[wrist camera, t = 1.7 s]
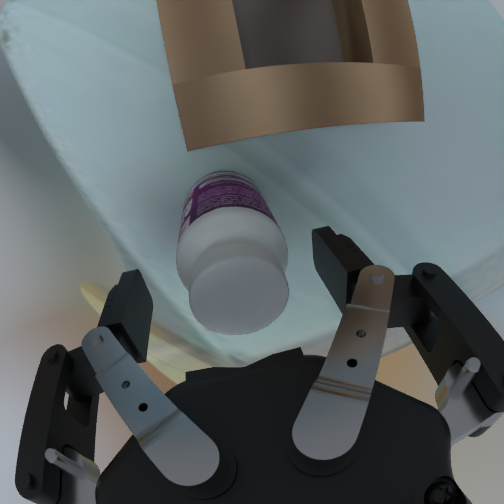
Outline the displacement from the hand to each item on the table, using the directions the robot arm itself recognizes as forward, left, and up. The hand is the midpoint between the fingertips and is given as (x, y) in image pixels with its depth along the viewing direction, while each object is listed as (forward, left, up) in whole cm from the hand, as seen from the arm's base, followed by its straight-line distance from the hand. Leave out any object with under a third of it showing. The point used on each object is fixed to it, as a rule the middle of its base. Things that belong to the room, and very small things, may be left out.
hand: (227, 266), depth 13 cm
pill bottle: (0, 0, -8) cm, 8 cm away
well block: (-6, -12, -7) cm, 15 cm away
